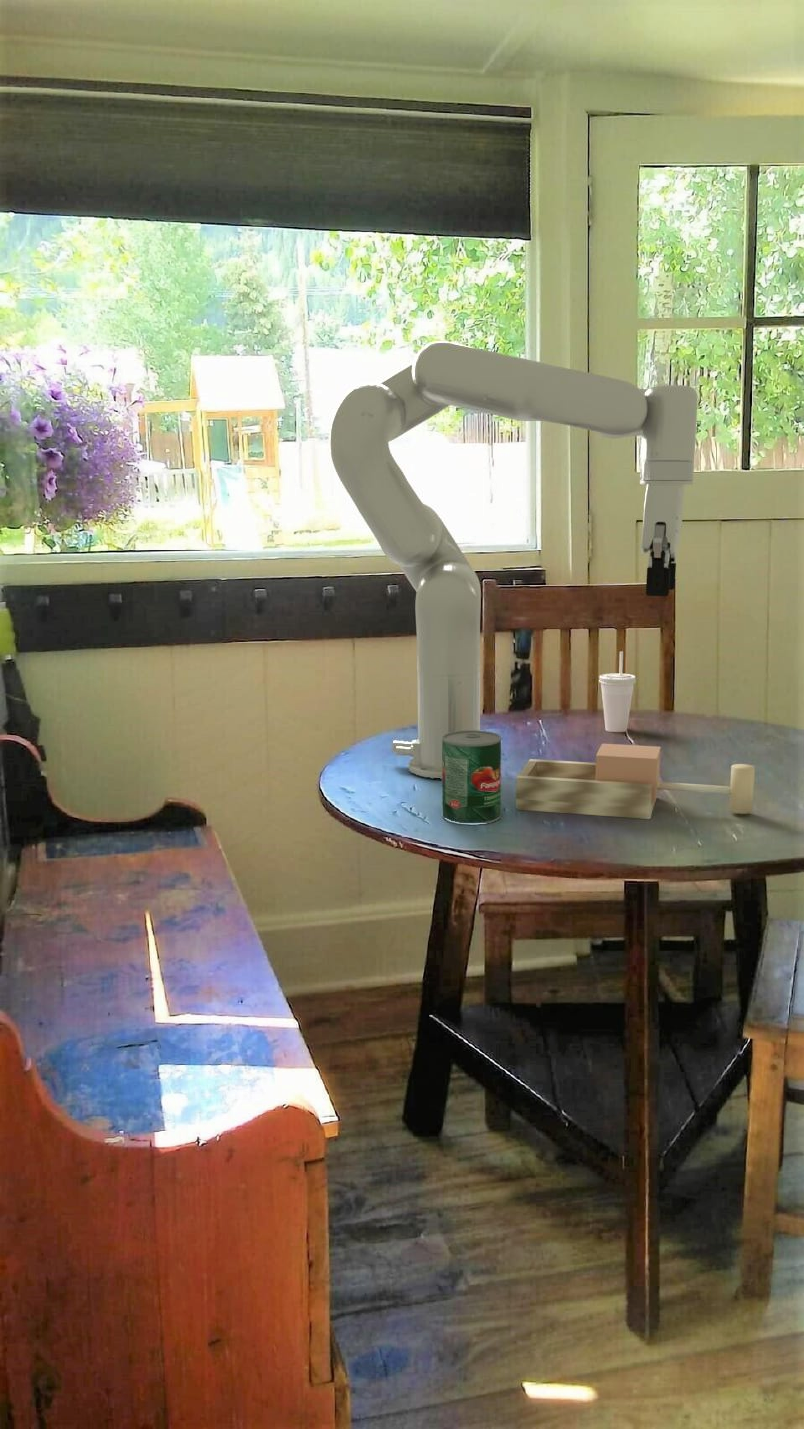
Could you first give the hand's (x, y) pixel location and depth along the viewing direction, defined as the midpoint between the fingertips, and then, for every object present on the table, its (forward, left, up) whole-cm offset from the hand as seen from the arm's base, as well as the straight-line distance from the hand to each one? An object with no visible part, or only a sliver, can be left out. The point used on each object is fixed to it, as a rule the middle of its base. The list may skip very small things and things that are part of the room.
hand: (660, 592), depth 170 cm
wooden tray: (-9, -19, -27) cm, 35 cm away
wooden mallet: (+4, -19, -27) cm, 33 cm away
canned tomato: (-22, -29, -28) cm, 46 cm away
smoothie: (-9, +28, -28) cm, 40 cm away
